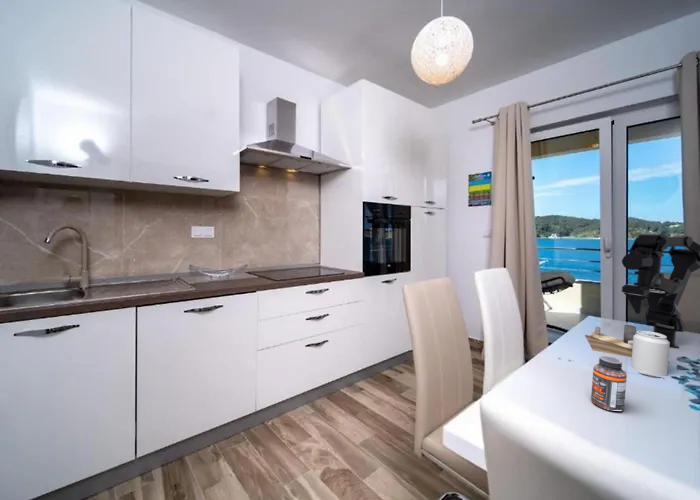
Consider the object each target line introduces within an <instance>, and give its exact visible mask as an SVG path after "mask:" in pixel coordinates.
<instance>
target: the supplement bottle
mask: <svg viewBox="0 0 700 500" xmlns="http://www.w3.org/2000/svg"><path fill="white" fill-rule="evenodd" d="M622 367H623V362H622V361H621V360H620V359H619V358H616V357H612V356H608V355H607V356H606V355H602V356H601V355H600V356H599V358H598V363H597V364H594V366H593V369H592V370H593V371H592V380H591V381H592V384H591V393H590V400H591V402H592V403H593V404H594V405H595V404H596V405H597V406H596V405H595V406H596V407H598V406H600V407H602V408H605V409H609V410H623V409H624V410H625V402H626V401H625V400H626V392H627V391H626V388H627V377H628V375H627V373H626V371H625V370H623V368H622ZM600 407H599V408H600ZM602 408H601V409H602ZM624 410H623V411H624Z"/></svg>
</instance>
